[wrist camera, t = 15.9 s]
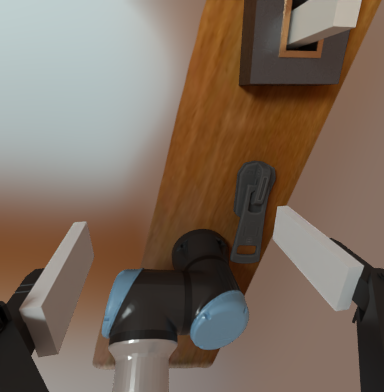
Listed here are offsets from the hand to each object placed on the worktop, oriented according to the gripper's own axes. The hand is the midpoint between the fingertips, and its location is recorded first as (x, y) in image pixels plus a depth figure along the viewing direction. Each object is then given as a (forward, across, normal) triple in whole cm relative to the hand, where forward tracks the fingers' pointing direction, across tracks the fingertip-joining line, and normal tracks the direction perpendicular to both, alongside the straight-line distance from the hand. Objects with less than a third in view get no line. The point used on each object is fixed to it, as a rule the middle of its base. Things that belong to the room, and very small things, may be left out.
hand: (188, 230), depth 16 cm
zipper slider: (+37, -20, +18) cm, 46 cm away
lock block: (+37, -25, -20) cm, 49 cm away
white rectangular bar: (+37, -25, -20) cm, 49 cm away
